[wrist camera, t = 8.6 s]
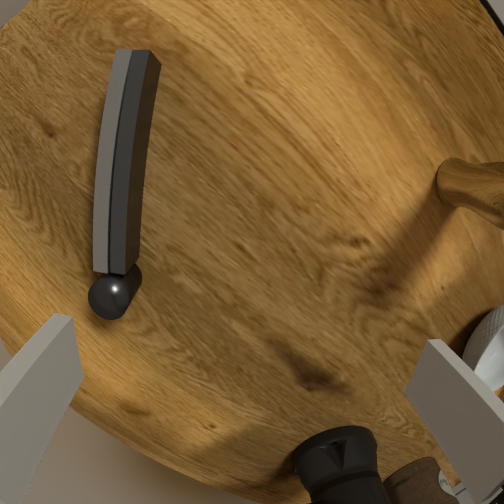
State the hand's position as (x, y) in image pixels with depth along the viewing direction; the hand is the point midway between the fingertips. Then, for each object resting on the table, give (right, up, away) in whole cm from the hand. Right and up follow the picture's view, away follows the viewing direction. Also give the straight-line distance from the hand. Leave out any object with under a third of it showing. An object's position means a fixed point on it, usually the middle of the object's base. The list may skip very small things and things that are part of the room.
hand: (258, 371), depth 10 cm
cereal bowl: (+39, -10, +30) cm, 51 cm away
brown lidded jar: (+39, -51, +44) cm, 77 cm away
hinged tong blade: (-13, +13, +18) cm, 26 cm away
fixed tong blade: (-13, +11, +19) cm, 25 cm away
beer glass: (+24, +13, +21) cm, 35 cm away
